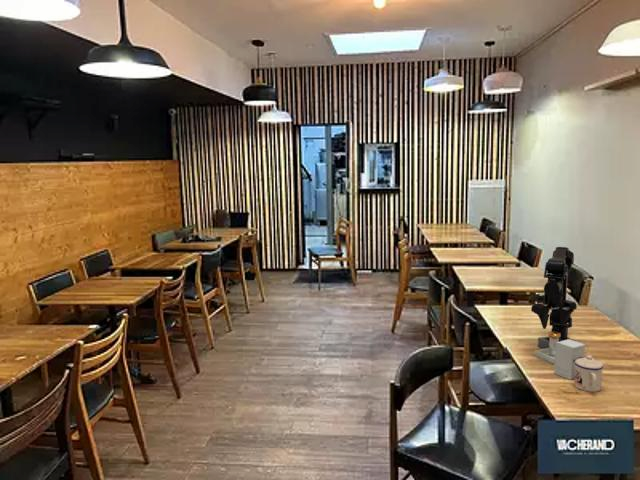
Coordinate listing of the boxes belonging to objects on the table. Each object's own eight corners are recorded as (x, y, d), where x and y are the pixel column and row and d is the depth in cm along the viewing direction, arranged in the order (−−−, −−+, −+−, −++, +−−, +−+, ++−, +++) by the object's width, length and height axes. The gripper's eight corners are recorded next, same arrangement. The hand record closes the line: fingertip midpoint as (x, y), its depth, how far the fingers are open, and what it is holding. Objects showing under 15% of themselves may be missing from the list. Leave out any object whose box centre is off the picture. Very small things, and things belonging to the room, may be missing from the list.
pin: (553, 354, 214) (554, 330, 212) (562, 357, 210) (563, 334, 208) (544, 355, 212) (545, 332, 211) (553, 359, 208) (554, 335, 207)
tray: (553, 352, 217) (553, 347, 217) (572, 361, 208) (572, 355, 208) (534, 356, 214) (534, 350, 214) (552, 364, 205) (553, 358, 204)
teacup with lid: (570, 381, 189) (572, 350, 188) (597, 382, 188) (599, 352, 186) (579, 395, 178) (581, 363, 176) (608, 397, 176) (610, 364, 174)
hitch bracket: (552, 344, 228) (552, 335, 227) (566, 350, 220) (566, 341, 220) (537, 346, 225) (538, 337, 225) (551, 352, 218) (552, 343, 217)
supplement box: (570, 380, 190) (572, 347, 188) (553, 373, 196) (555, 341, 195) (583, 376, 193) (585, 344, 191) (566, 369, 200) (568, 338, 198)
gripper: (557, 283, 220) (555, 318, 222) (522, 288, 214) (521, 324, 216) (578, 289, 210) (576, 326, 212) (542, 294, 203) (540, 332, 206)
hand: (553, 327), depth 212 cm, fingers open, 9 cm apart
